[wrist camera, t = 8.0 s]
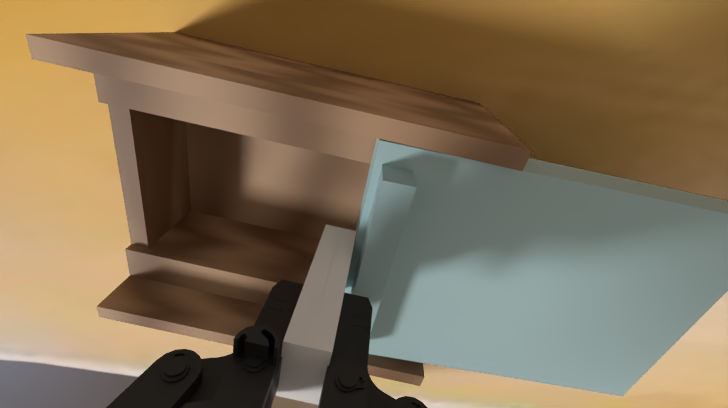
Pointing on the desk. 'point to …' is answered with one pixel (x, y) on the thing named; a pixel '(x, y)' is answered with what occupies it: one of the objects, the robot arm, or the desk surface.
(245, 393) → the robot arm
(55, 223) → the desk surface
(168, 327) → the box
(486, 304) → the cover plate
